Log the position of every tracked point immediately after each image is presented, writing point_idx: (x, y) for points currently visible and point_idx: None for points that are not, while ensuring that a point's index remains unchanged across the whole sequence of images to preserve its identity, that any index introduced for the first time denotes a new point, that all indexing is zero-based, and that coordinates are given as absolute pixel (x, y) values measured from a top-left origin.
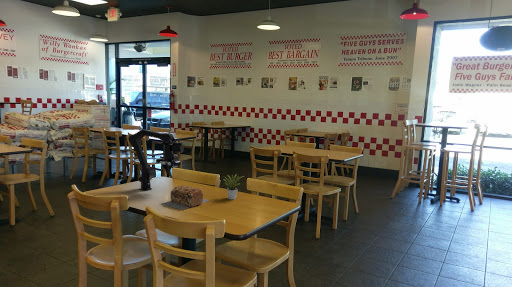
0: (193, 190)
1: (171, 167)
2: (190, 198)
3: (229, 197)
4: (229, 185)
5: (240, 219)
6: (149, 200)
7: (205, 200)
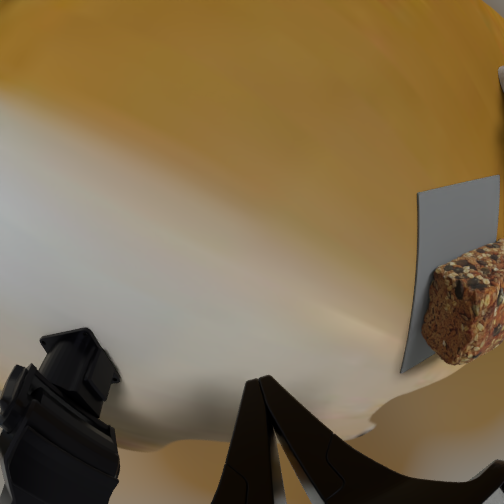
0: None
1: (383, 471)
2: None
3: None
4: None
5: None
6: (328, 403)
7: (494, 189)
